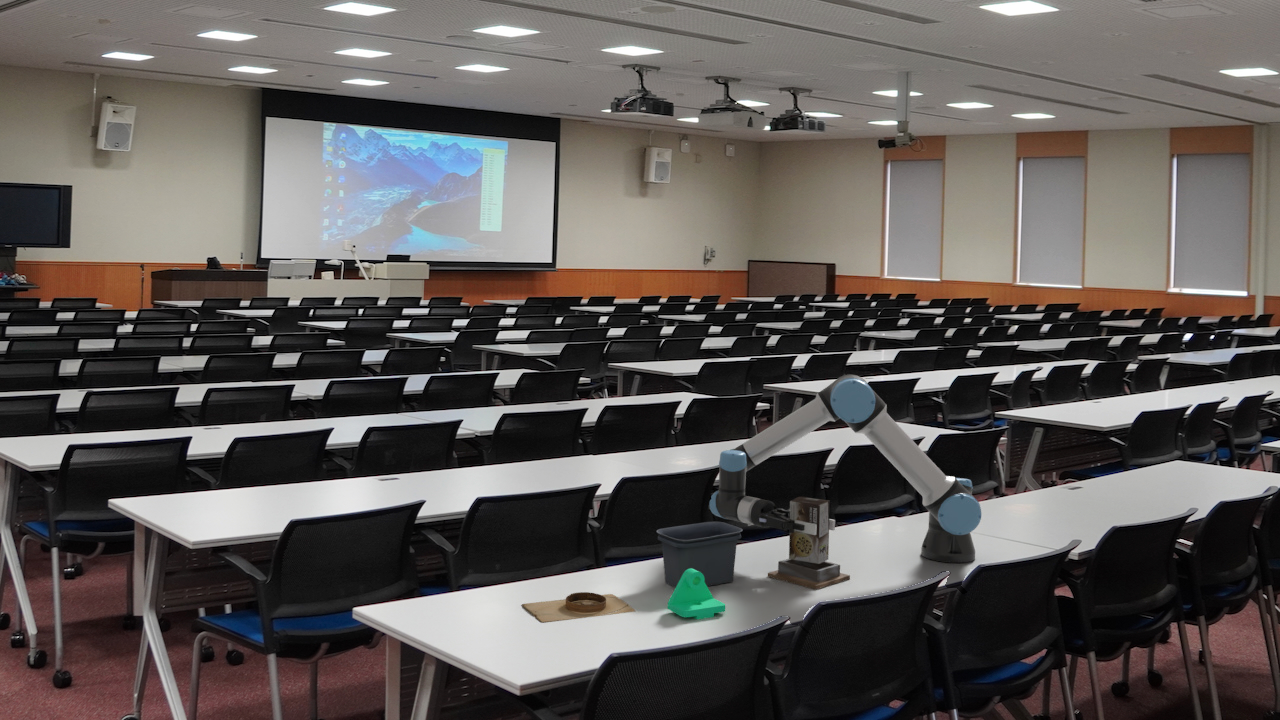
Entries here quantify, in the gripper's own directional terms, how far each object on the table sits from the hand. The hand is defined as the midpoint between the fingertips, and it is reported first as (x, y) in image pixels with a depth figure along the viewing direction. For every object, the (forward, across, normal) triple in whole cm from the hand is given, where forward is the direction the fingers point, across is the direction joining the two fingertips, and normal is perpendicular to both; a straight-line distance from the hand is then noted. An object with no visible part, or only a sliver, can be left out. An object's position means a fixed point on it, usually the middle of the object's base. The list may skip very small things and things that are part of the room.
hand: (824, 527), depth 306 cm
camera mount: (-3, +45, -15) cm, 48 cm away
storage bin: (-22, +26, -15) cm, 37 cm away
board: (-25, +64, -16) cm, 70 cm away
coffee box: (-5, 0, -10) cm, 11 cm away
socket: (-5, 0, -15) cm, 15 cm away
